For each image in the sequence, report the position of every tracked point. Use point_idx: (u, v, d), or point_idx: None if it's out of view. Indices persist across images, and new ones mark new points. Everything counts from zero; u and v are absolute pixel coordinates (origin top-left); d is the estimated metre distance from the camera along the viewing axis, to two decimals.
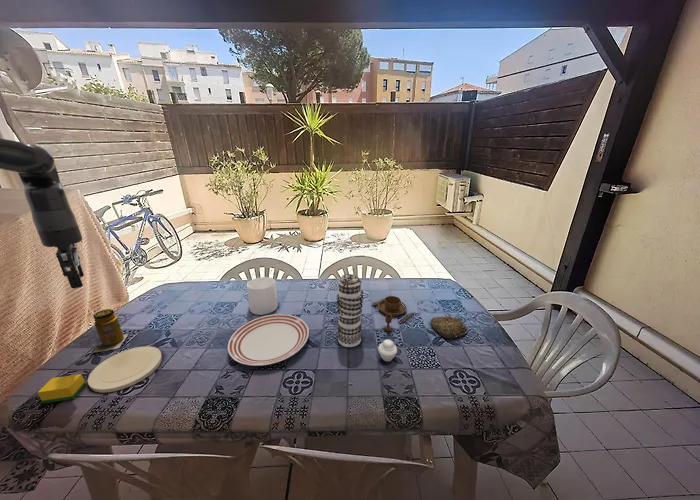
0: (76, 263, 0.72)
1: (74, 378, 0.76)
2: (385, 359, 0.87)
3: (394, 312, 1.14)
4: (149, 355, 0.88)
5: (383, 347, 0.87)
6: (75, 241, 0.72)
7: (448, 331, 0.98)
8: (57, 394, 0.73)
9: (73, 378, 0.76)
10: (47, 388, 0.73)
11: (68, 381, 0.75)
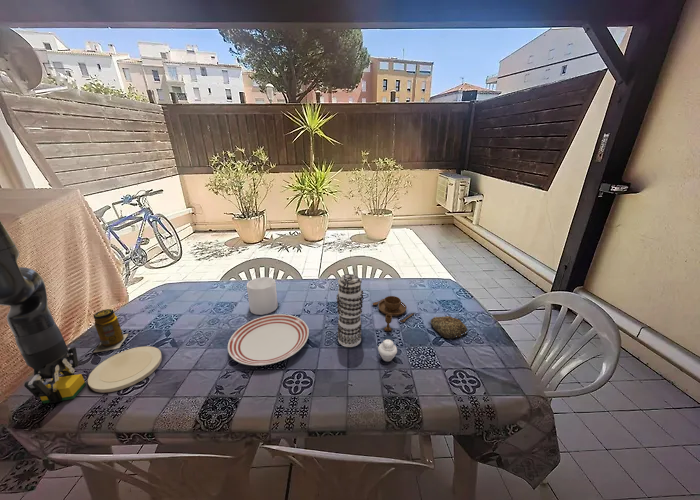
0: (53, 382, 0.71)
1: (74, 378, 0.76)
2: (385, 359, 0.87)
3: (394, 312, 1.14)
4: (149, 355, 0.88)
5: (383, 347, 0.87)
6: (50, 361, 0.69)
7: (448, 331, 0.98)
8: None
9: (73, 378, 0.76)
10: None
11: (68, 381, 0.75)
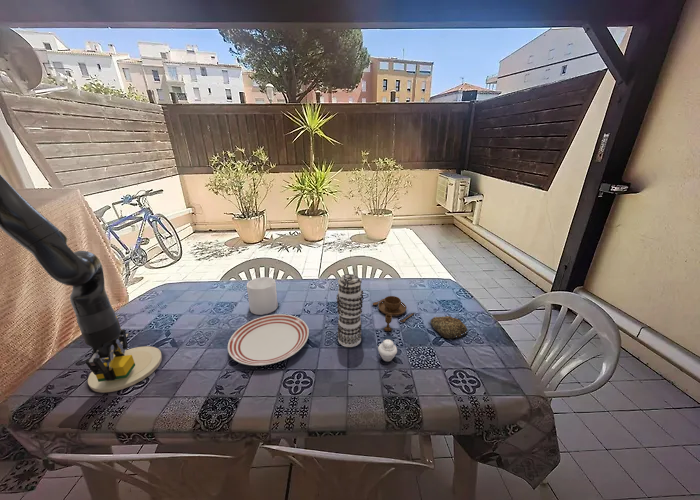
0: (109, 360, 0.75)
1: (126, 358, 0.80)
2: (385, 359, 0.87)
3: (394, 312, 1.14)
4: (149, 355, 0.88)
5: (383, 347, 0.87)
6: (107, 340, 0.73)
7: (448, 331, 0.98)
8: None
9: (125, 358, 0.80)
10: None
11: (121, 361, 0.78)
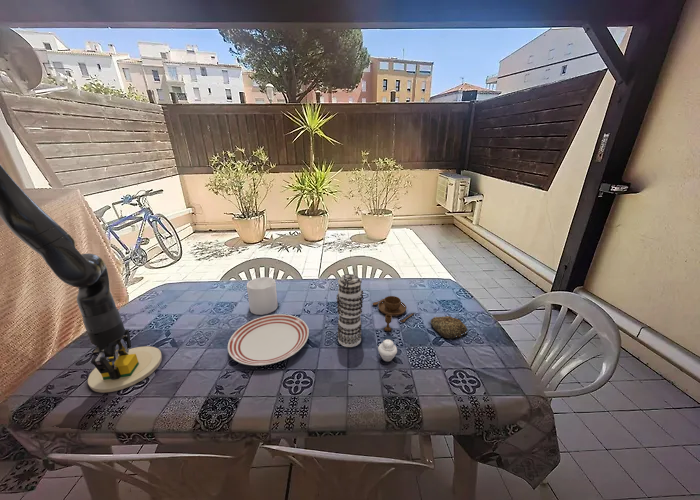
0: (114, 360, 0.77)
1: (130, 357, 0.82)
2: (385, 359, 0.87)
3: (394, 312, 1.14)
4: (149, 355, 0.88)
5: (383, 347, 0.87)
6: (113, 340, 0.75)
7: (448, 331, 0.98)
8: None
9: (129, 357, 0.82)
10: None
11: (125, 360, 0.81)
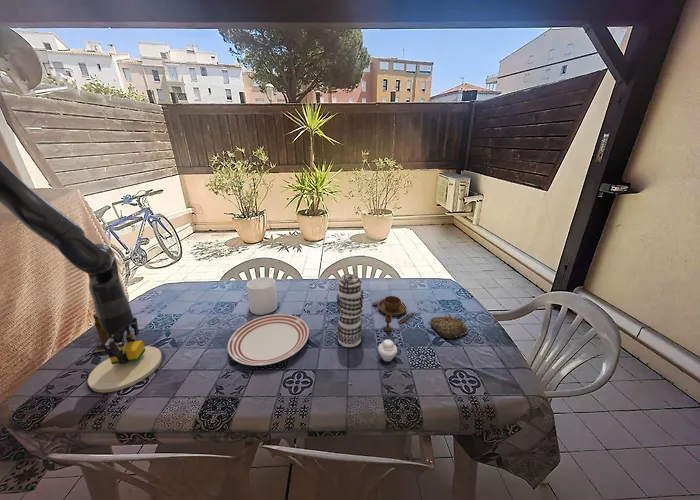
0: (122, 345, 0.81)
1: (137, 343, 0.86)
2: (385, 359, 0.87)
3: (394, 312, 1.14)
4: (149, 355, 0.88)
5: (383, 347, 0.87)
6: (122, 326, 0.79)
7: (448, 331, 0.98)
8: None
9: (136, 343, 0.86)
10: None
11: (133, 346, 0.85)
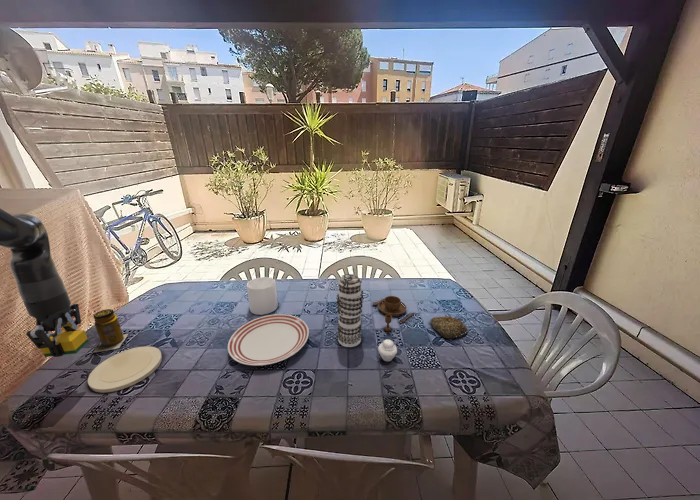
0: (56, 334, 0.69)
1: (77, 333, 0.74)
2: (385, 359, 0.87)
3: (394, 312, 1.14)
4: (149, 355, 0.88)
5: (383, 347, 0.87)
6: (53, 312, 0.68)
7: (448, 331, 0.98)
8: None
9: (76, 333, 0.74)
10: None
11: (71, 336, 0.73)
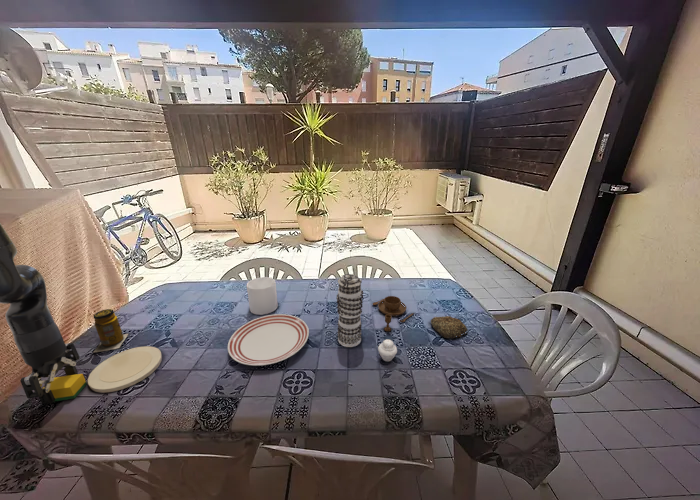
0: (48, 381, 0.70)
1: (75, 377, 0.76)
2: (385, 359, 0.87)
3: (394, 312, 1.14)
4: (149, 355, 0.88)
5: (383, 347, 0.87)
6: (49, 359, 0.69)
7: (448, 331, 0.98)
8: (58, 393, 0.73)
9: (74, 377, 0.76)
10: None
11: (69, 381, 0.75)
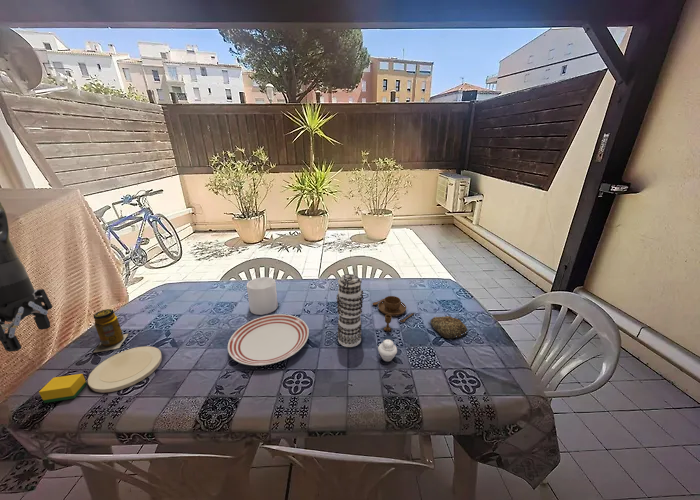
0: (12, 325, 0.62)
1: (75, 377, 0.76)
2: (385, 359, 0.87)
3: (394, 312, 1.14)
4: (149, 355, 0.88)
5: (383, 347, 0.87)
6: (12, 300, 0.61)
7: (448, 331, 0.98)
8: (58, 393, 0.73)
9: (74, 377, 0.76)
10: (49, 388, 0.73)
11: (69, 381, 0.75)
